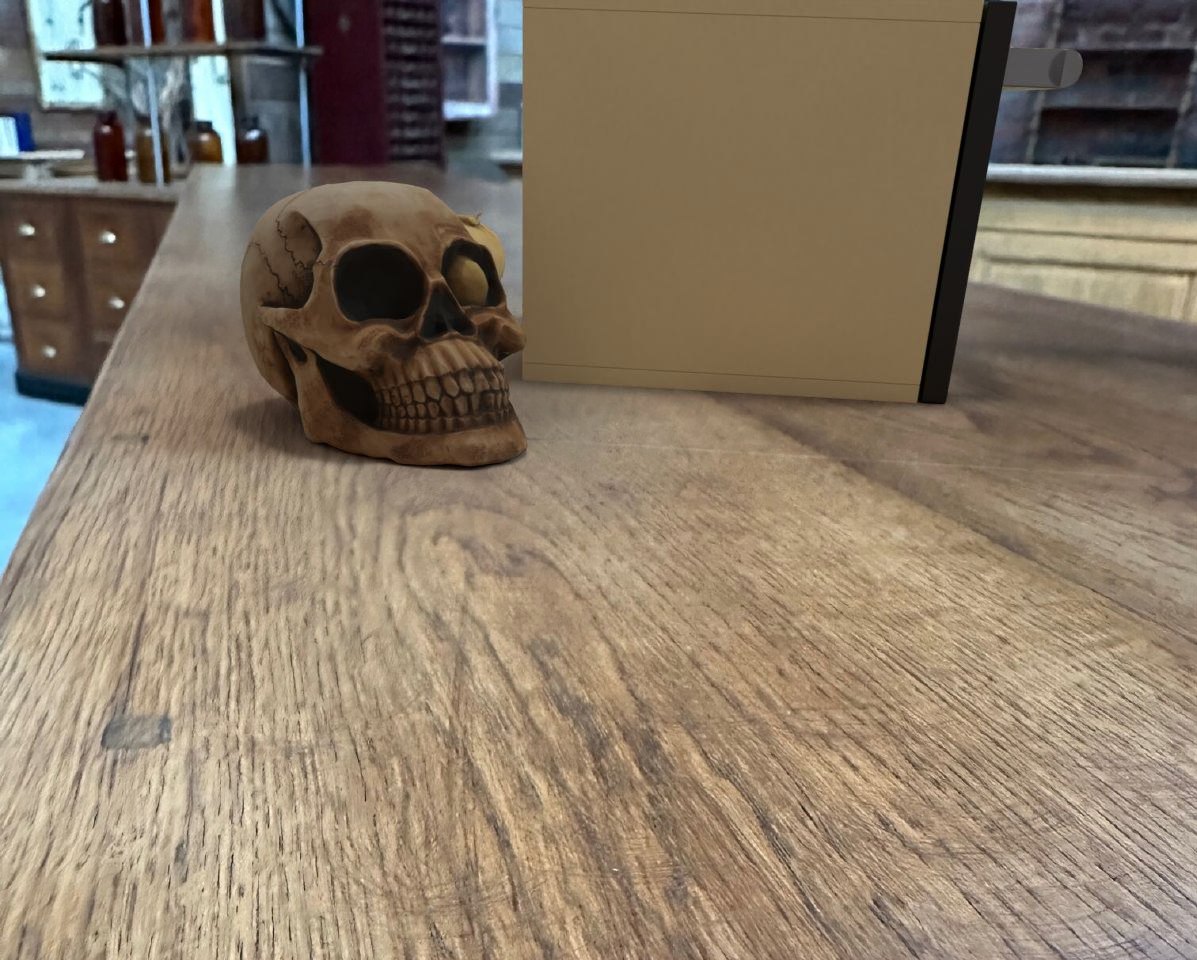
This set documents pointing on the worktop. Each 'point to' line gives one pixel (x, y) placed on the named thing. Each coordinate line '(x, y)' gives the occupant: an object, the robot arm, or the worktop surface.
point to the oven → (739, 190)
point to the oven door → (981, 171)
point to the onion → (485, 239)
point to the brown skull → (383, 324)
